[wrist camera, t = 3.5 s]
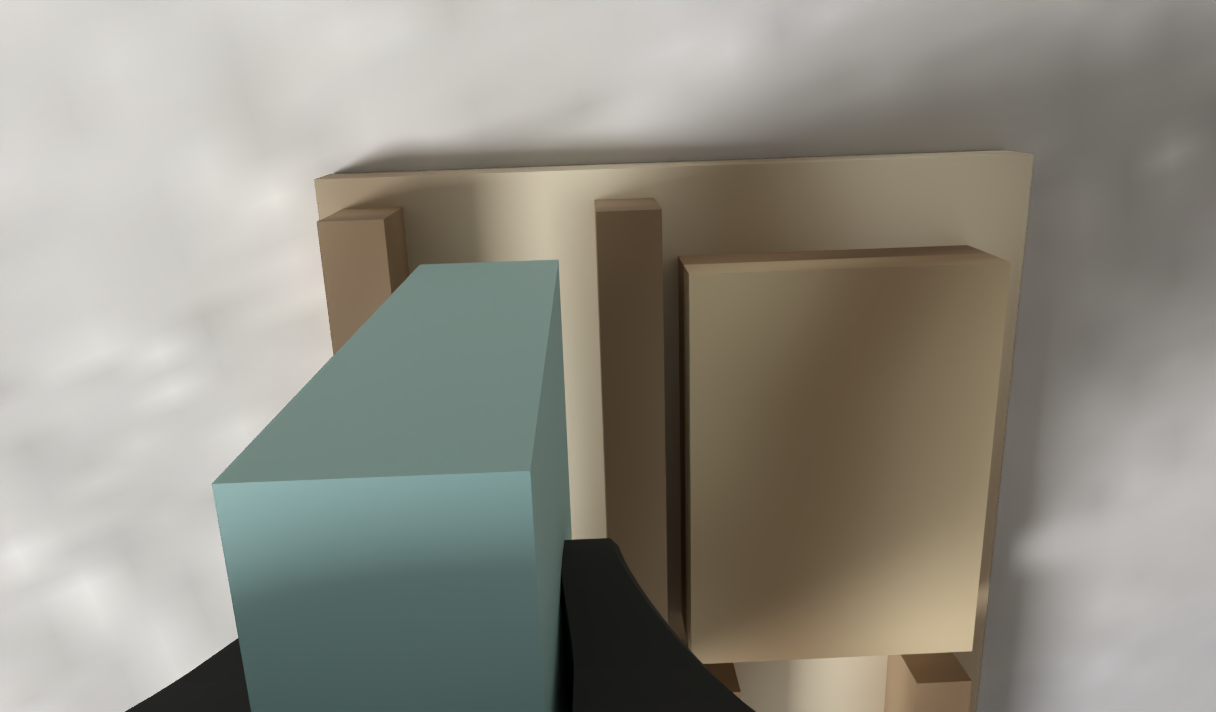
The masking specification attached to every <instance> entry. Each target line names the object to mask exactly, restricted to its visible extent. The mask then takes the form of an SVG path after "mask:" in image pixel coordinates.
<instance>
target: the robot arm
mask: <svg viewBox="0 0 1216 712" xmlns="http://www.w3.org/2000/svg"><path fill="white" fill-rule="evenodd" d="M561 581H562V600H563V619H564V638H565V657H566V676H567V694H568V712H756V711H754V710H753V709H752V708H751V707H749V706H748V705H747V704H745V703H744V702H743V701H742V700H741V699H740V698H738V697H737V696H736V695H735V694H734V693H733V692H732V691H731V690H729V689H728V688H727V687H726V686H725V685H724V684H723V683H722V682H721V681H720V680H719V679H718V678H716V677H715V676H714V675H713V674H712V673H711V672H710V671H709V670H708V669H707V668H706V667H705V665H704V664H703V663H702V662H701V661H700V660H699V659H698V658H697V657H696V656H695V655H694V654H693V653H692V652H691V650H690V649H689V648H688V647H687V646H686V645H685V644H684V643H683V642H682V640H681V639H680V638H679V637H678V636H677V635H676V633H675V632H674V631H673V630H672V629H671V627H670V626H669V625H668V624H667V622H666V621H665V620H664V618H663V617H662V616H661V614H660V613H659V612H658V610H657V609H656V608H655V606H654V605H653V604H652V602H651V601H650V600H649V598H648V597H647V596H646V594H645V593H644V591H643V590H642V588H641V587H640V585H639V584H638V582H637V580H636V579H635V577H634V576H633V574H632V572H631V571H630V569H629V567H628V565H627V564H626V562H625V560H624V558H623V555H622V553H621V551H620V548H619V546H618V545H617V544H616V543H615V542H614V541H613V540H612V539H611V538H597V539H574V540H564V547H563V556H562V566H561ZM125 712H251V708H250V702H249V696H248V690H247V684H246V679H245V673H244V667H243V661H242V655H241V650H240V644H239V638H238V639H236V640H235V641H233V642H232V643H230V644H229V645H228V646H226V647H225V648H223V649H222V650H221V651H219V652H218V653H216V654H215V655H213V656H212V657H211V658H209V659H208V660H206V661H205V662H204V663H202V664H201V665H199V666H198V667H196V668H195V669H194V670H192V671H191V672H189V673H188V674H186V675H185V676H183V677H181V678H180V679H178V680H177V681H175V682H174V683H172V684H171V685H169V686H167V687H166V688H164V689H162V690H161V691H159V692H158V693H156V694H154V695H153V696H151V697H149V698H148V699H146V700H144V701H143V702H141V703H139V704H137V705H136V706H134V707H132V708H130V709H129V710H127V711H125Z"/></svg>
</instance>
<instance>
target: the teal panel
mask: <svg viewBox="0 0 1216 712" xmlns="http://www.w3.org/2000/svg"><path fill="white" fill-rule="evenodd" d="M212 488H213V493H214V499H215V505H216V511H217V517H218V522H219V528H220V534H221V540H222V546H223V551H224V557H225V563H226V569H227V574H228V580H229V586H230V592H231V598H232V603H233V609H234V615H235V621H236V627H237V632H238V638H239V644H240V650H241V655H242V661H243V667H244V673H245V679H246V684H247V690H248V696H249V702H250V708H251V712H568V694H567V676H566V657H565V638H564V619H563V600H562V581H561V566H562V556H563V547H564V540H572V530H571V509H570V488H569V468H568V447H567V426H566V405H565V384H564V363H563V342H562V321H561V300H560V279H559V260H532V261H504V262H477V263H449V264H422V265H419V266H418V267H417V268H416V269H415V270H414V271H413V272H412V273H411V274H410V275H409V277H408V278H407V279H406V280H405V281H404V282H403V283H402V284H401V285H400V286H399V287H398V288H397V289H396V290H395V291H394V292H393V293H392V294H391V296H390V297H389V298H388V299H387V300H386V301H385V302H384V303H383V304H382V305H381V306H380V307H379V308H378V309H377V310H376V311H375V312H374V313H373V315H372V316H371V317H370V318H369V319H368V320H367V321H366V322H365V323H364V324H363V325H362V326H361V327H360V328H359V329H358V330H357V331H356V332H355V333H354V335H353V336H352V337H351V338H350V339H349V340H348V341H347V342H346V343H345V344H344V345H343V346H342V347H341V348H340V349H339V350H338V351H337V352H336V354H335V355H334V356H333V357H332V358H331V359H330V360H329V361H328V362H327V363H326V364H325V365H324V366H323V367H322V368H321V369H320V370H319V371H318V373H317V374H316V375H315V376H314V377H313V378H312V379H311V380H310V381H309V382H308V383H307V384H306V385H305V386H304V387H303V388H302V389H301V390H300V392H299V393H298V394H297V395H296V396H295V397H294V398H293V399H292V400H291V401H290V402H289V403H288V404H287V405H286V406H285V407H284V408H283V409H282V410H281V412H280V413H279V414H278V415H277V416H276V417H275V418H274V419H273V420H272V421H271V422H270V423H269V424H268V425H267V426H266V427H265V428H264V429H263V431H262V432H261V433H260V434H259V435H258V436H257V437H256V438H255V439H254V440H253V441H252V442H251V443H250V444H249V445H248V446H247V447H246V448H245V450H244V451H243V452H242V453H241V454H240V455H239V456H238V457H237V458H236V459H235V460H234V461H233V462H232V463H231V464H230V465H229V466H228V467H227V468H226V470H225V471H224V472H223V473H222V474H221V475H220V476H219V477H218V478H217V479H216V480H215V481H214V482H213V483H212Z"/></svg>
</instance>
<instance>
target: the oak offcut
mask: <svg viewBox="0 0 1216 712" xmlns="http://www.w3.org/2000/svg"><path fill="white" fill-rule="evenodd" d="M683 267H684V397H685V526H686V638H687V644H688V648H689V649H690V650H691V652H692V653H693V654H694V655H695V656H696V657H697V658H698V659H699V660H700V661H701V662H702V663H703V664H713V663H734V662H755V661H776V660H797V659H819V658H840V657H861V656H882V655H903V654H924V653H946V652H967V651H972V647H973V637H974V627H975V617H976V607H977V597H978V587H979V577H980V567H981V557H982V547H983V537H984V527H985V517H986V507H987V498H988V488H989V478H990V468H991V458H992V448H993V438H994V428H995V418H996V408H997V398H998V388H999V378H1000V368H1001V358H1002V348H1003V338H1004V328H1005V318H1006V308H1007V298H1008V288H1009V278H1010V268H1011V262H1009V261H1007V260H1004V259H1002V258H999V257H997V256H994V255H991V254H989V253H981V254H954V255H928V256H901V257H875V258H848V259H822V260H795V261H769V262H742V263H716V264H689V265H683Z"/></svg>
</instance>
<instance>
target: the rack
mask: <svg viewBox="0 0 1216 712" xmlns="http://www.w3.org/2000/svg"><path fill="white" fill-rule="evenodd" d="M1033 162H1034V154H1031V153H1024V152H1016V151H1009V150H997V151H969V152H941V153H912V154H884V155H856V156H828V157H799V158H771V159H743V160H714V161H686V162H658V163H630V164H601V165H573V166H545V167H516V168H488V169H460V170H432V171H403V172H375V173H347V174H329V175H326V176H323V177H320V178H317V179H314V181H315V189H316V197H317V205H318V213H319V221H317V228H318V236H319V244H320V252H321V260H322V268H323V276H324V284H325V291H326V299H327V307H328V315H329V323H330V331H331V339H332V347H333V355H335V354H336V352H337V351H338V350H339V349H340V348H341V347H342V346H343V345H344V344H345V343H346V342H347V341H348V340H349V339H350V338H351V337H352V336H353V335H354V333H355V332H356V331H357V330H358V329H359V328H360V327H361V326H362V325H363V324H364V323H365V322H366V321H367V320H368V319H369V318H370V317H371V316H372V315H373V313H374V312H375V311H376V310H377V309H378V308H379V307H380V306H381V305H382V304H383V303H384V302H385V301H386V300H387V299H388V298H389V297H390V296H391V294H392V293H393V292H394V291H395V290H396V289H397V288H398V287H399V286H400V285H401V284H402V283H403V282H404V281H405V280H406V279H407V278H408V277H409V275H410V274H411V273H412V272H413V271H414V270H415V269H416V268H417V267H418V266H419V265H422V264H449V263H477V262H504V261H532V260H559V279H560V300H561V321H562V342H563V363H564V384H565V405H566V426H567V447H568V468H569V488H570V509H571V530H572V540H574V539H597V538H611V539H612V540H613V541H614V542H615V543H616V544H617V545H618V546H619V548H620V551H621V553H622V555H623V558H624V560H625V562H626V564H627V565H628V567H629V569H630V571H631V572H632V574H633V576H634V577H635V579H636V580H637V582H638V584H639V585H640V587H641V588H642V590H643V591H644V593H645V594H646V596H647V597H648V598H649V600H650V601H651V602H652V604H653V605H654V606H655V608H656V609H657V610H658V612H659V613H660V614H661V616H662V617H663V618H664V620H665V621H666V622H667V624H668V625H669V626H670V627H671V629H672V630H673V631H674V632H675V633H676V635H677V636H678V637H679V638H680V639H681V640H682V642H683V643H684V644H685V645H686V646H687V647H688V644H687V638H686V633H685V628H684V623H683V618H682V606H681V500H680V394H679V288H678V256H690V255H717V254H743V253H770V252H797V251H823V250H850V249H876V248H903V247H930V246H956V245H969V246H971V247H974V248H976V249H979V250H981V251H984V252H986V253H989V254H991V255H994V256H997V257H999V258H1002V259H1004V260H1007V261H1009V262H1011V268H1010V278H1009V288H1008V298H1007V308H1006V318H1005V328H1004V338H1003V348H1002V358H1001V368H1000V378H999V388H998V398H997V408H996V418H995V428H994V438H993V448H992V458H991V468H990V478H989V488H988V498H987V507H986V517H985V527H984V537H983V547H982V557H981V567H980V577H979V587H978V597H977V607H976V617H975V627H974V637H973V647H972V651H967V652H946V653H924V654H903V655H882V656H861V657H840V658H819V659H797V660H776V661H755V662H734V663H713V664H704V665H705V667H706V668H707V669H708V670H709V671H710V672H711V673H712V674H713V675H714V676H715V677H716V678H718V679H719V680H720V681H721V682H722V683H723V684H724V685H725V686H726V687H727V688H728V689H729V690H731V691H732V692H733V693H734V694H735V695H736V696H737V697H738V698H740V699H741V700H742V701H743V702H744V703H745V704H747V705H748V706H749V707H751V708H752V709H753V710H754V711H756V712H976V709H977V700H978V690H979V680H980V671H981V661H982V652H983V642H984V632H985V623H986V613H987V604H988V594H989V584H990V575H991V565H992V556H993V546H994V536H995V527H996V517H997V507H998V498H999V488H1000V479H1001V469H1002V459H1003V450H1004V440H1005V431H1006V421H1007V411H1008V402H1009V392H1010V383H1011V373H1012V363H1013V354H1014V344H1015V335H1016V325H1017V315H1018V306H1019V296H1020V287H1021V277H1022V267H1023V258H1024V248H1025V239H1026V229H1027V219H1028V210H1029V200H1030V191H1031V181H1032V171H1033Z"/></svg>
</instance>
